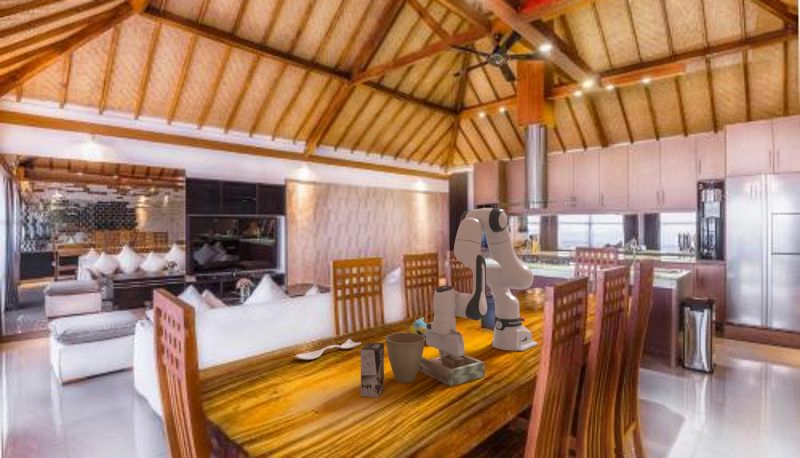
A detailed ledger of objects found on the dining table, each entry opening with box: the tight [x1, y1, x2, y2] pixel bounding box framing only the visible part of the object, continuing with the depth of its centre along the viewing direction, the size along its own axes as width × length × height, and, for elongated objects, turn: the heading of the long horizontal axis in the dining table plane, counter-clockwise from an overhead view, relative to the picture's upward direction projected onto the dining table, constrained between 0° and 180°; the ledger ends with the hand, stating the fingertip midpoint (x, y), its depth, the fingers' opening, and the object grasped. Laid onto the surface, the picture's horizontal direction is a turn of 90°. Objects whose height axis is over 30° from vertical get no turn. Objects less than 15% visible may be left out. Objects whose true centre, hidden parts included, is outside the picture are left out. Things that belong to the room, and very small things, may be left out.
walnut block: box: [442, 355, 464, 369], centre depth 161 cm, size 6×6×4 cm
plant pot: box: [385, 332, 426, 384], centre depth 157 cm, size 15×15×16 cm
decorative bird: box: [405, 316, 427, 341], centre depth 215 cm, size 14×30×9 cm, turn 16°
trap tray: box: [418, 354, 486, 387], centre depth 163 cm, size 17×22×6 cm
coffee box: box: [360, 342, 385, 398], centre depth 145 cm, size 9×6×16 cm
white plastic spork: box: [295, 338, 362, 361], centre depth 189 cm, size 9×32×4 cm, turn 134°
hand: (444, 361), depth 165 cm, fingers closed
